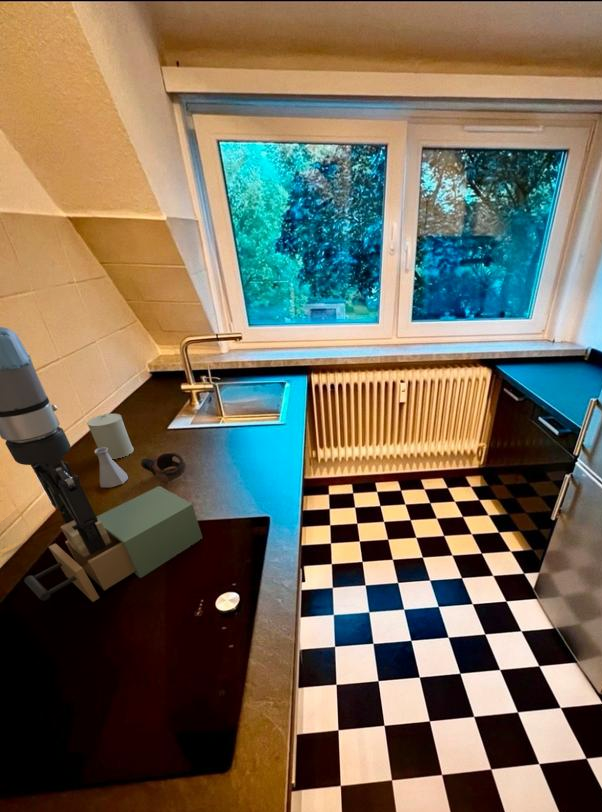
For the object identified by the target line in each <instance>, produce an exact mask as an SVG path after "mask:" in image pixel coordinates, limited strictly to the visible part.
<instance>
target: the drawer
mask: <svg viewBox="0 0 602 812" xmlns="http://www.w3.org/2000/svg"><path fill="white" fill-rule="evenodd" d="M106 532H107V531H106ZM107 534H108V536H109V538H110V540H111V543H109V544H107V545H106V547H104V548H103V549H101V550H99V551H97V552H95V553H94V554H92V555H91V554H89V555H87V556H86V557H83V556H82V555H80V554H79V553H78V552H77V551H76V550H75V549H74V548H72V547H71V545H70V543H69V541H68V540H65V541H64V542H65V545H66V547H67V548H68V550H69V552H70V553H71V555H72V557H71V556H70V555H69V554H68V553H67V552H66V551H65V550H63V549H62V548H61V547H60V546H59V545H58V544H57V543H53V544H51V545H48V549H49V551H50V552H51V554H52V555H53V557H54V559H55V561H56V562H57V563H56V564H54V565H52V566H50V567H48V568H46V569H45V570H42V571H40V572H39V573H37V574H35V575H28V576H26V577H25V578H24V580H23V582H24V584H26V585H27V587H28V588H29V589H30V590H31V591H32V592H33V594H35V596H36V597H37V598H38V599H39V600H40V601H43V602H44V601H47V600H49V599H50V598H51V595H52V594H54V593H56V592H57V591H60V590H61V589H62V588H65V587H66V586H68V585H69V584H71V583H72V584H73V585H74V586H75V587H76V588H77V589H79V590H80V591H81V592H82V593H83V594H84V595H85V596H86V597H87V598H88V599H89V600H90V601H91V602H92V603H94V602H95V601H97V600H99V599H100V596H99V594H98V592H97V591H96V588H95V587H94V585H93V583H92V582H91V580H92V581H93V582H94V583H95V584H96V585H98V586H99V588H101V589H102V590H103V591H106V590H108V589H109V588H112V587H113V586H114V585H116V584H117V583H119V582H120V581H122V580H124V579H126V578H127V577H128V576H130V575H132V574H134V573H133V572H135V571H136V570H135V568H134V566H133V563H132V561H131V559H130V557H129V555H128V553H127V550H126V548H125V546H124V544H123V543H122V542H120V541H119V540H118V539H116V538H115V537H114V536H112V535H111V534H110V533H108V532H107ZM59 568H60V569H61V570H62V572H63V573H64V576H65V577H66V578H67V579H65V580H64V581H62V582H61V583H59V584H57V585H55V586H54V587H52V588H50V589H47V588H46V587H44V585H43V584H42V583H41V582H40V581H39V579H40V578H42V577H44V576H46V575H48V574H50V573H51V572H54V571H55V570H57V569H59Z"/></svg>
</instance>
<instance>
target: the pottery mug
mask: <svg viewBox="0 0 602 812" xmlns="http://www.w3.org/2000/svg"><path fill="white" fill-rule="evenodd" d="M173 457H176V458H177V459H178V460H179V461H176V460H174V459H173ZM140 466H141V467H142V468H143V469H145V470H146V471H149V472H150V473H152V475H153V476H156V475H157V476H158V477H160V483H161V484H163V485H168V484H169V482H172V481H174V480H176V479H178V478H179V477H181V476H182V475H183V474H184V472H185V470H186V468H187V467H188V464H187V463H186V462H185V461H184V457H182V456H181V454H179V453H177V452H175V451H164V452H161V453H159V454H157V456H155V458H153V457H145V458H142V459H141V461H140ZM168 468H175V469H172V470H168V471H167V470H166V469H168ZM164 470H166V471H165V473H164V472H163V471H164Z"/></svg>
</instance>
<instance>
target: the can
mask: <svg viewBox="0 0 602 812" xmlns="http://www.w3.org/2000/svg"><path fill="white" fill-rule="evenodd" d="M124 423H125V422H124V420H123V417H122V415H121V414H119V413H104V414H99V415H96V416H93V417H92V418H89V419H88V420H87V421H86V425H87V427H88V429H89V432H90V434H91V436H92V438H93V440H94V442H95V444H96V445H95V446H96V447H97V449H98V448H102V447H107V448H108V454H109V455H110V457H111V458H112V459H116V460H118V459H117V458H121V459H123V458H122V457H124V458H126V457H128V456H130V455H131V454H133V453H134V449H135V448H134V446H133V445H132V442H131V440H130V437H129V434H128V432H127V429H126V426H125V424H124ZM129 454H130V455H129ZM125 456H126V457H125Z"/></svg>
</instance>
